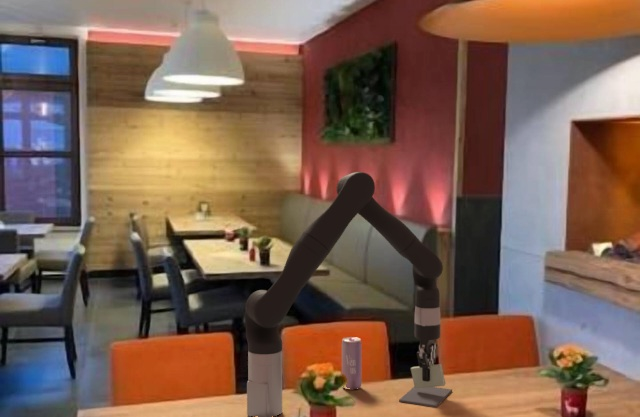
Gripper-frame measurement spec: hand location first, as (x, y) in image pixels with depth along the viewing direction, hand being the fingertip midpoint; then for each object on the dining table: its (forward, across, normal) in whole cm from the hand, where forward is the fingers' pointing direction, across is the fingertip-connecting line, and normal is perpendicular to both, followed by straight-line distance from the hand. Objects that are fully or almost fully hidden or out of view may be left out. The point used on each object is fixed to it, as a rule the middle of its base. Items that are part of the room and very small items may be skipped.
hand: (427, 379), depth 197 cm
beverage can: (+5, +3, -23) cm, 24 cm away
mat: (+5, +1, 0) cm, 5 cm away
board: (+2, 0, +1) cm, 2 cm away
